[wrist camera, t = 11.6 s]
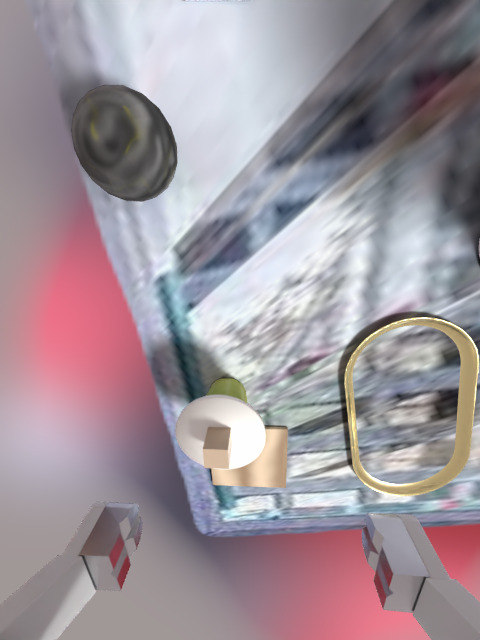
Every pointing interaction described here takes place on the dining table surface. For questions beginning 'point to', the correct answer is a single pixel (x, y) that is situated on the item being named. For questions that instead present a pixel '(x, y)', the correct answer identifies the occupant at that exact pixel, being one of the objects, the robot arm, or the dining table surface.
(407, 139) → the dining table surface
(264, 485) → the mat
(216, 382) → the plant pot
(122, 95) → the decorative stone
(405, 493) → the oval gold ring
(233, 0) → the milk carton
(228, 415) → the lid
